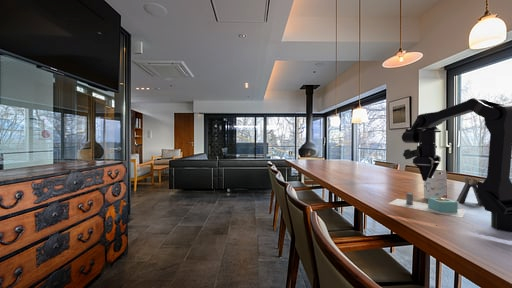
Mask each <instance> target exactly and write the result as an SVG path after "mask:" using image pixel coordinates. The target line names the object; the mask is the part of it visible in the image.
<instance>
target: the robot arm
mask: <svg viewBox="0 0 512 288" xmlns="http://www.w3.org/2000/svg"><path fill="white" fill-rule="evenodd" d="M470 113H475V114H476V115H477V116H480V117H482V118H483V120H484V125H485V127H486V129H487V131H488V132H489V135H490V136H489V147H488V161H487V170H486V171H487V172H486V173H487V174H486V178H485V179H484V180H480V181H479V180H478V181H477V188H478V189H477V191H476V193H478V197H479V199H480V200H481V201H482V204H483V206H482V207H483V208H484V210H485V211H486V212H490V214H491V215H490V219H491V220H490V224H491V225H490V226H491V227H492V228H494V229H496V230H497V231H502V232H507V233H512V181H511V180H510V176H511V175H510V174H511V163H512V105H506V104H503V103H502V104H501V103H498V102H494V101H490V100H487V99H485V98H480V97H479V98H478V97H473V98H470V99H467V100H465V101H463V102H461V103H457V104H455V105H452V106H449V107H446V108H442V109H441V110H439V111H434V112H428V113H427V112H425V113H421V114H419V115H417V118H416V119H415V120H414V122H413V124H412V125H411V127H410V128H405V131H404V132H403V133H402V135H401V140H402V142H403V143H404V144H418V145H417V146H416V149H412V150H411V149H410V148H407V149H404V152H403V153H402V156H403V157H404V158H405V160H411V159H412V158H413V159H412V164H413V165H414V166H415V167H416V168H418V170H419V173H420V176H421V179H422V181H423V182H424V181H426V180H427V178H432V176H433V174H434V172H435V171H437V169H438V167H439V165H440V163H441V161H442V160H441V156H440V155H437V151H436V150H437V149H438V145H436V144H437V143H436V142H437V139H436V137H437V135H436V134H437V133H441V132H442V130H441V129H439V128H438V126H440V125H442V124H443V123H444V122H445V121H448V120H451V119H455V118H456V117H457V118H458V117H460V116H464V115H466V114H470Z"/></svg>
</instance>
